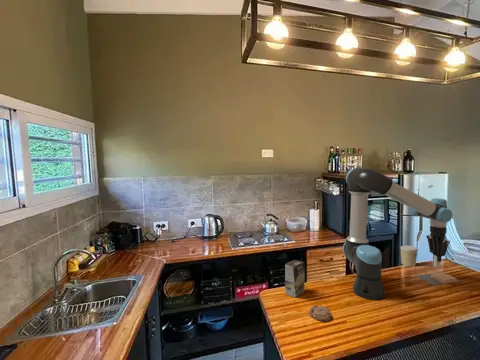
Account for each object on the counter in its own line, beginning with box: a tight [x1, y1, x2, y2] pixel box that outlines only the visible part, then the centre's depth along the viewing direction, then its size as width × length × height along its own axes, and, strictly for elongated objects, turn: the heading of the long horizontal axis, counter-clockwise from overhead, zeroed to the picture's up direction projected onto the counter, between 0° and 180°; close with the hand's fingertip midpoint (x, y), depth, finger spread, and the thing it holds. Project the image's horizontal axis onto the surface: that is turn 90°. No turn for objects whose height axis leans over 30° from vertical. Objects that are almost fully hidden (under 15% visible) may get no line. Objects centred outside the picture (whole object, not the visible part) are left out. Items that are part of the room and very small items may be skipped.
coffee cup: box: [400, 245, 418, 267], centre depth 173 cm, size 9×9×12 cm
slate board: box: [415, 272, 461, 286], centre depth 152 cm, size 18×12×1 cm, turn 101°
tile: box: [430, 272, 457, 284], centre depth 150 cm, size 8×2×8 cm
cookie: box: [308, 304, 333, 323], centre depth 120 cm, size 10×11×3 cm
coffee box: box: [284, 259, 306, 298], centre depth 141 cm, size 9×6×16 cm
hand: (437, 266), depth 153 cm, fingers closed
